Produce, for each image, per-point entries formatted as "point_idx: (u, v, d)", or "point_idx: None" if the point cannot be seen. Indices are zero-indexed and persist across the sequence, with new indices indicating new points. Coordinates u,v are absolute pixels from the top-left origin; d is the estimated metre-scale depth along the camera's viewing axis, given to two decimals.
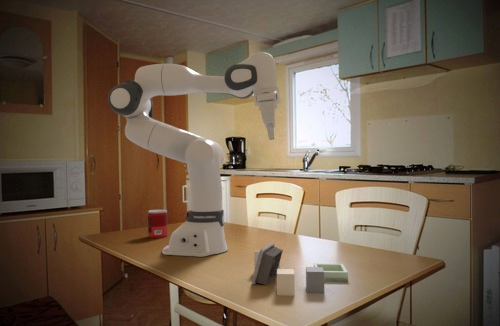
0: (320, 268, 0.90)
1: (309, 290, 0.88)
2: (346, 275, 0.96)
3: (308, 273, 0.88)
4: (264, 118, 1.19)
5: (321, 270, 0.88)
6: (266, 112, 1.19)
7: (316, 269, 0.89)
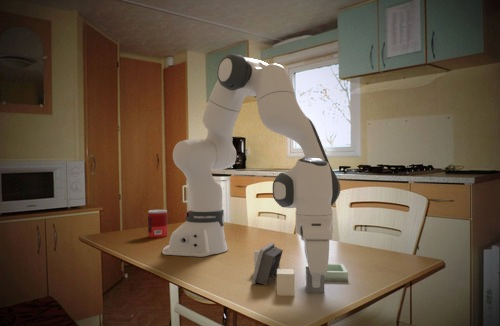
0: None
1: (309, 290, 0.88)
2: (346, 275, 0.96)
3: (308, 273, 0.88)
4: (312, 269, 0.80)
5: None
6: (316, 260, 0.80)
7: None
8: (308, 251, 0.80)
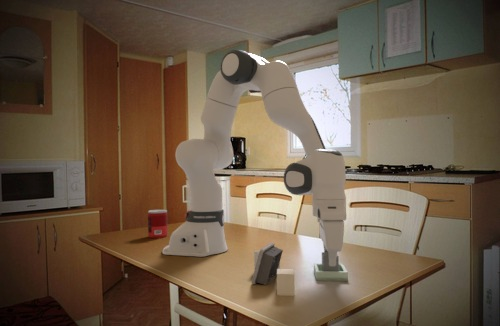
0: None
1: None
2: (346, 275, 0.96)
3: (324, 257, 0.98)
4: (329, 246, 0.90)
5: None
6: (333, 238, 0.90)
7: None
8: (325, 230, 0.91)
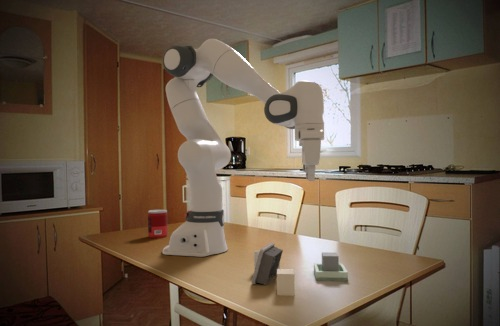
0: (335, 253, 1.01)
1: None
2: (346, 275, 0.96)
3: (324, 257, 0.98)
4: (307, 159, 1.03)
5: (336, 255, 0.99)
6: (311, 152, 1.03)
7: (331, 254, 1.00)
8: (304, 146, 1.04)
